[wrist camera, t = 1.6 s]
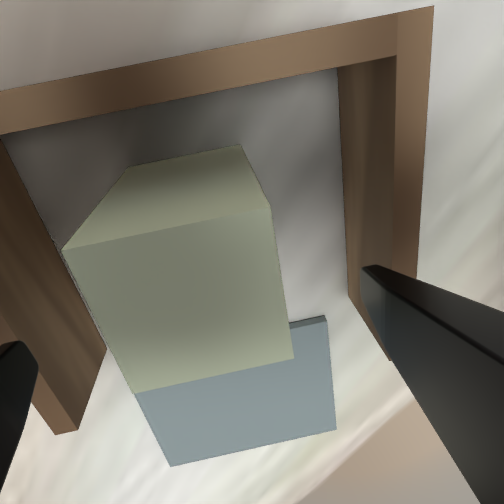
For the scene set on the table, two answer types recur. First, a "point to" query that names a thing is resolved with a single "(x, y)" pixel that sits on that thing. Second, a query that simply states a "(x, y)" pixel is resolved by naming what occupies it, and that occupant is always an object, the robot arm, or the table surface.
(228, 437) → the mat
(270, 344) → the block
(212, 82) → the open frame
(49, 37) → the table surface
